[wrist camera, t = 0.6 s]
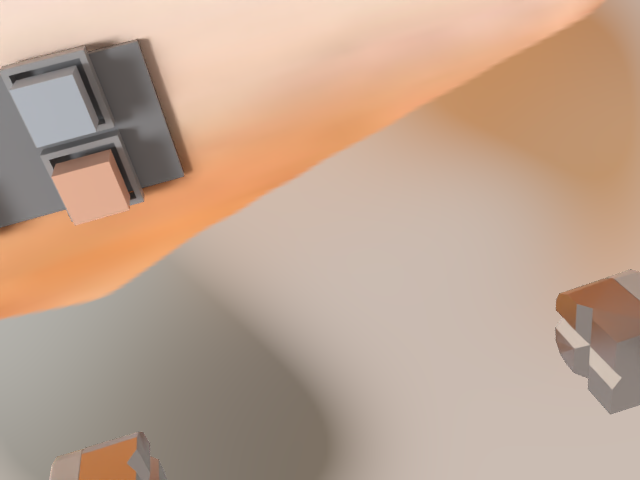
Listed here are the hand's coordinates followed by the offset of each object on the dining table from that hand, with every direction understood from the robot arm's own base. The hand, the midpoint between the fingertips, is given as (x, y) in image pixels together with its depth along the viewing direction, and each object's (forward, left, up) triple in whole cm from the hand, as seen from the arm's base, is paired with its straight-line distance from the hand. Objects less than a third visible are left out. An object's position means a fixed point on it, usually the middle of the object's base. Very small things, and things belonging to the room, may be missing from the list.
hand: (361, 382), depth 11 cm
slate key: (+4, -13, -41) cm, 43 cm away
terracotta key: (+11, -13, -41) cm, 44 cm away
